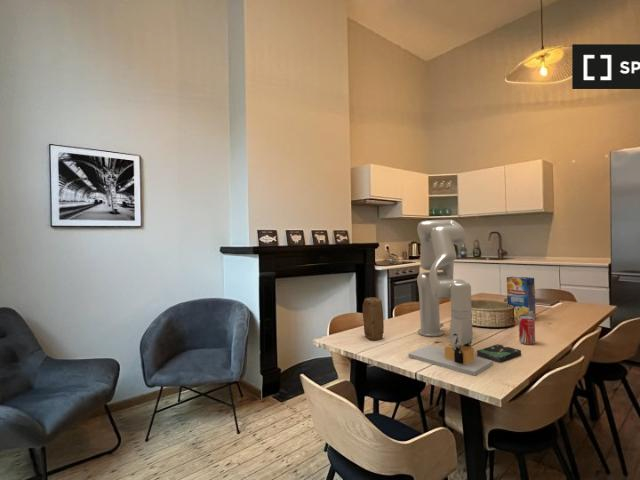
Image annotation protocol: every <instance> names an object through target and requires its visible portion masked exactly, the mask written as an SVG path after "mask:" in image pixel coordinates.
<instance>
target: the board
mask: <svg viewBox="0 0 640 480" xmlns="http://www.w3.org/2000/svg"><path fill="white" fill-rule="evenodd" d="M407 355H408V356H407V357H408V358H410V359H414V360H416V361H421V362H424V363H428V364H432V365H434V366H438V367H442V368H444V369H449V370H452V371H456V372H459V373H462V374H463V373H464V374H466V375H469V376H470V375H471V376H474V377H475V376H478V375H479V374H481V373H482V372H484V371H486V370H487V369H489V368H490V367H491V366H493V365H494V361H492V360H489V359H485V358H482V357H479V356H475V355H474V361H473V362H471V363H470V364H468V365H467V364H463V363H462V364H461V363H457V362H455V361H451V360H447V359H445V348H441V347H437V346H432V345H429V344H428V345H425V346H424V347H423V346H422V347H421V348H418V349H416V350H414V351H411V352H409V353H407Z"/></svg>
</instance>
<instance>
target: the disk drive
mask: <svg viewBox="0 0 640 480" xmlns="http://www.w3.org/2000/svg"><path fill="white" fill-rule="evenodd" d="M520 356H522V350H521V349H517V348H514V347H510V346H503V345H502V344H499V343H498V344H494V345H490V346H488V347H485V348H482V349H478V350H477V351H476V357H479V358H483V359H487V360H491V361H493V362H496V363H499V364H501V363H504V362H507V361H510V360H513V359H515V358H518V357H520Z"/></svg>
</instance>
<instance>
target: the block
mask: <svg viewBox="0 0 640 480" xmlns="http://www.w3.org/2000/svg"><path fill="white" fill-rule="evenodd" d="M382 302H383V301H382V299H381V298H379V297H374V296H373V297H370V296H369V297H366V298H364V300H363V303H362V319H363V320H362V321H363V331H364V335H365V337H366V338H367V339H369V340H372V341H374V340H375V341H378V340H381V339H382V338H383V337H384V330H385V327H384V326H385V324H384V323H385V322H384V311H383V310H384V308H383V303H382Z"/></svg>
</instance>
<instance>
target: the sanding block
mask: <svg viewBox="0 0 640 480" xmlns="http://www.w3.org/2000/svg"><path fill="white" fill-rule="evenodd" d="M457 347H458V348H460V346H457ZM444 349H445V359H447V360H451V361H455V360H454V351H453V348H452V347H451V343H449V344H447V345H445V346H444ZM462 353H463V364H467V365H468V364H470V363H471V362H473V361H474V356H475V349H474V347H472V346H471V347H467V346H463V347H462Z"/></svg>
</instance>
